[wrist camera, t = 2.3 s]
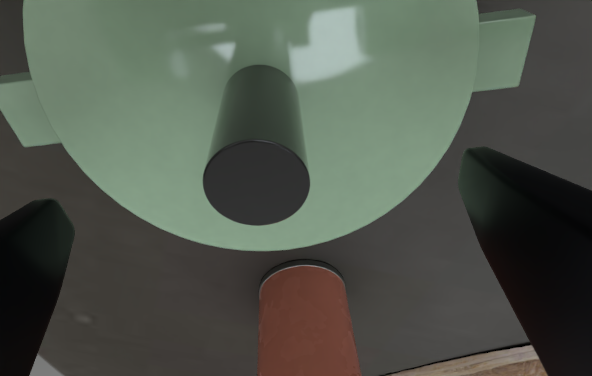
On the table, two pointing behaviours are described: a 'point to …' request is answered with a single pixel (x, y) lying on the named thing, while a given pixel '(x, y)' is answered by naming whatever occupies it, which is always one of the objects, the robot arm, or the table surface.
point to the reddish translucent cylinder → (305, 322)
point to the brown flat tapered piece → (486, 365)
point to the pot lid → (254, 107)
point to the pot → (490, 75)
